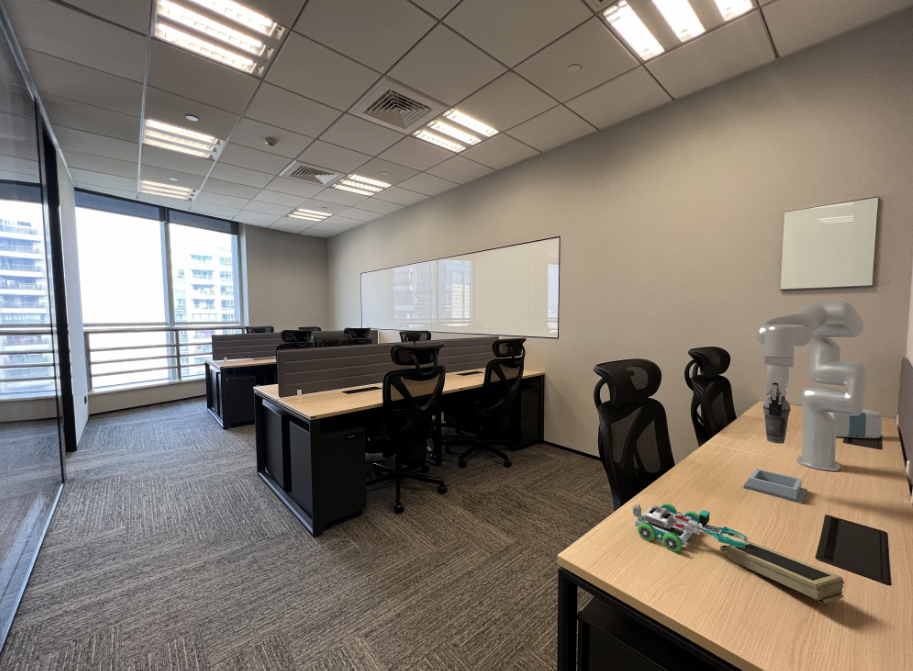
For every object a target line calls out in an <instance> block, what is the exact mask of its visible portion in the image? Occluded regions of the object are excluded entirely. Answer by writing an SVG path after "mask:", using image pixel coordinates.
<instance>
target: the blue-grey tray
mask: <svg viewBox="0 0 913 671" xmlns="http://www.w3.org/2000/svg"><path fill="white" fill-rule="evenodd" d="M743 488H744V489H747V490H751V491H754V492H757V493H762V494H765V495H769V496H772V497H776V498H779V499H783V500H787V501H791V502H795V503H799V504H802V505H803V504H804V501H805V499H806V496H807V494H808V489H807V488H804V487H802V478H799V477H795V476H791V475H790V476H789V475H786V474H781V473H777V472H773V471H768V470H765V469H760V468H756V469H755V471H754V472H753V473H752V474H751V475H750V477H748V479H747V481H746V482H745V483H744V484H743Z"/></svg>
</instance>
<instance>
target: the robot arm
mask: <svg viewBox="0 0 913 671" xmlns="http://www.w3.org/2000/svg"><path fill="white" fill-rule="evenodd" d="M864 328H865V326H864V321H863V319H862V317H861V316H860V314H859V312H858V311H857V309H856V308H855V307H854V306H853V305H852V304H851V303H848V302H846V301H826V302H825V301H824V302H823V301H822V302H811V303H808V304H806V305H804V306H802V307H801V308H800V309H798V310H797V311H795V312H794V313H791V314H787V315H783V316H777V317H774V318H771V319H768V320H767V321H765V322H763V323H762V324H761V325H760V327H759V328H758V330H757V332H756V337H757V338H756V339H757V340H758V342H759V343H760V344H762V345H764V358H763V360H764V361H763V365H764V366H766V367H767V368H766V375H765V388H764V394H765V395H766V396H769V395H770V396H769V397H770V403H769V415H773V416H782V404H781V398H784V399H785V400H786V395H787V394H788V391H789V382H790V381H789V380H790V379H789V378H790V377H789V376H790V368H794V366H795V365H794V364H795V358H794V357H795V347H804V346H806V345H808V344H809V347H810V348H809V349H810V355H809V364H808V378H809V379H810V380H811V381H812V382H813V383H818V384H822V385H833V386H841V387H842V386H843V387H846V389H845V388H843V389H842V388H834V387H827V386H818V385H817V386H816V385H813V386H807V387H804V388H803V389H802V390H801V391H800V401H801V406H802V441H801V442H802V444H801V446H802V447H801V456H797V458H796V462H797V463H798V464H800V465H802V466H805V467H808V468H812V469H815V470H820V471H828V472H830V471H831V472H837V471H840V470H841V468H842V467H841V465H840V464H838V463H837V462H836V451H837V450H836V448H837V446H836V444H837V437H836V422H835V420H834V419H833V418H832V416H831V415H830V414H829V413H828V412H830V413H831V412H832V413H839V414H845V415H853V416H856V415H860V414H861V413H862V412H863V410H864V409H865V404H866V395H867V394H866V392H867V383H868V381H867V380H868V374H867V373H868V371H867V368H866V367H865V366H864V365H863V364H862V363H860V362H857V361H844V360H841V347H840V346H839V344H838V343H837V342H836V341H835V340H834V339H833V338H851V339H852V338H857V337H859V336H861V334H862V333H863V330H864ZM777 394H779V395H777ZM778 397H779V398H778Z"/></svg>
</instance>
